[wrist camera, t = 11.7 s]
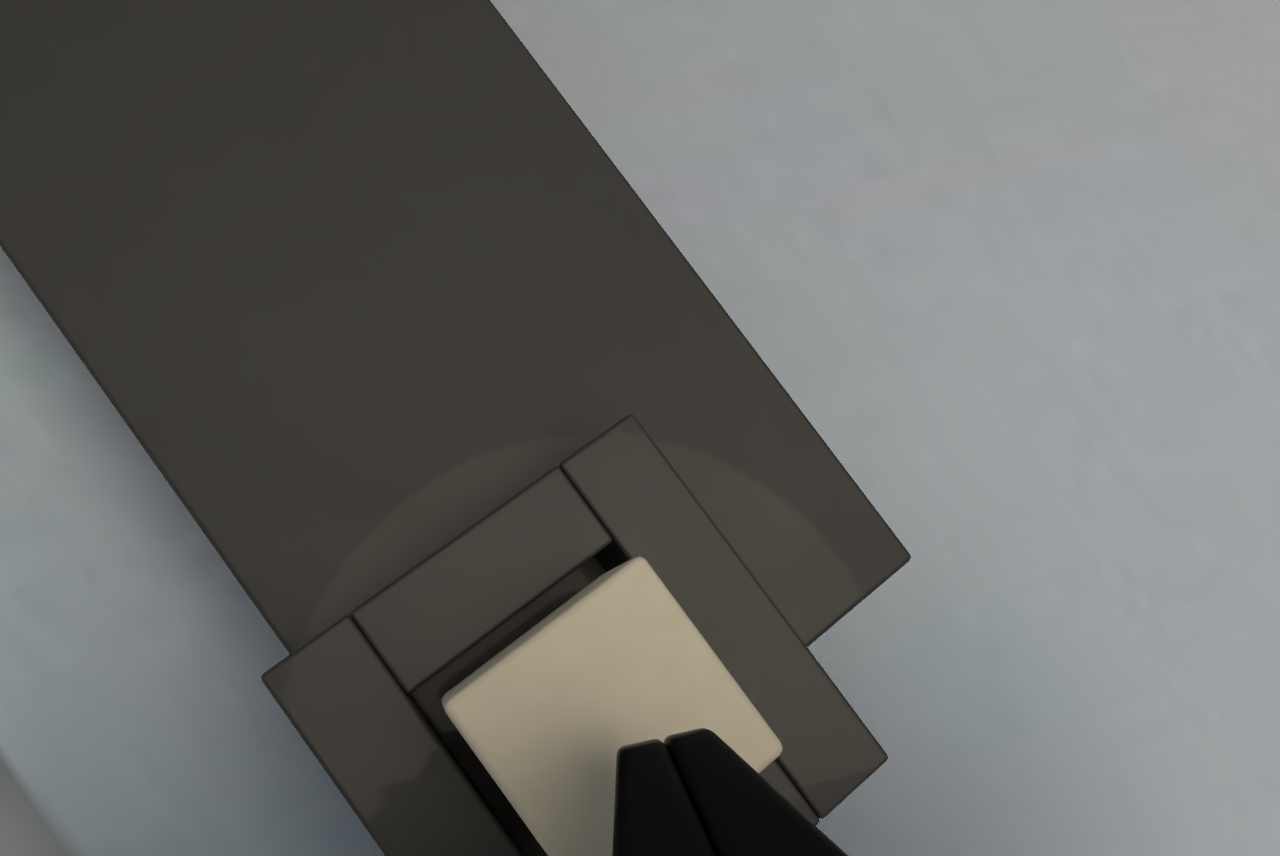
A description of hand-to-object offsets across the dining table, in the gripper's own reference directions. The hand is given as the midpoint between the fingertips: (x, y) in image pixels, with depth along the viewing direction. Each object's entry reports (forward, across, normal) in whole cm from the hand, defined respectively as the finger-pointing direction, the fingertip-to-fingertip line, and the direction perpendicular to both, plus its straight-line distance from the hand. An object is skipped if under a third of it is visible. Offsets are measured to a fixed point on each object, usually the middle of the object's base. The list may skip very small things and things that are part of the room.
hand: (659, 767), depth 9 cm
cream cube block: (+3, 0, +3) cm, 4 cm away
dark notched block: (+12, +2, +1) cm, 12 cm away
